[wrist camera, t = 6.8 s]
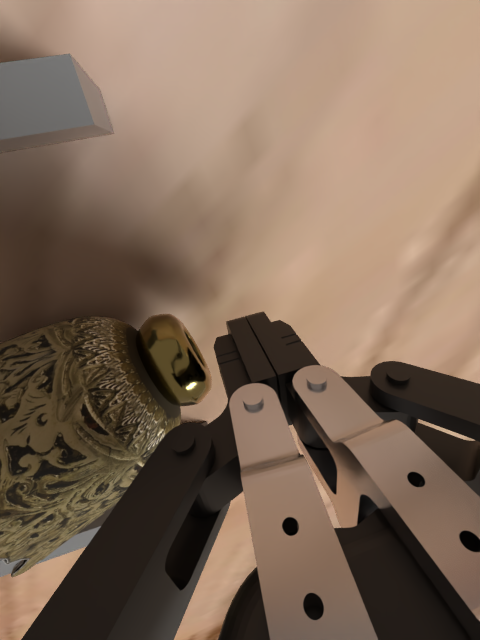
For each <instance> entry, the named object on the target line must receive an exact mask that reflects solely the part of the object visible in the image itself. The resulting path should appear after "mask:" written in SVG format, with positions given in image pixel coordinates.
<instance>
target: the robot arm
mask: <svg viewBox="0 0 480 640" xmlns="http://www.w3.org/2000/svg"><path fill="white" fill-rule="evenodd" d="M226 325H227V329H228V335H224V336H221V337H217V338H216V341H215V344H214V350H215V354H216V358H217V362H218V365H219V369H220V373H221V377H222V380H223V384H224V387H225V390H226V394H227V397H228V403H227V406H226V408H225V410H224V411H223V413H222V414H221V415H220V416H219V417H218V418H216V419H215V420H214V421H212V422H211V423H209V424H208V425H206V426H203V425H201V424H199V423H191V422H190V423H184V424H181V425H178V426H176V427H175V428H173V429H172V430H170V431H169V432H168V433H167V434H166V435H165V436H164V437H163V439H162V440H161V442H160V443H159V444H158V446H157V447H156V449H155V450H154V452H153V453H152V454H151V456H150V457H149V459H148V460H147V462H146V463H145V464H144V466H143V467H142V469H141V470H140V472H139V473H138V474H137V476H136V477H135V479H134V480H133V481H132V483H131V484H130V486H129V487H128V489H127V490H126V491H125V493H124V494H123V496H122V497H121V499H120V500H119V501H118V503H117V504H116V506H115V507H114V509H113V510H112V511H111V513H110V514H109V516H108V517H107V518H106V520H105V521H104V523H103V524H102V526H101V527H100V528H99V530H98V531H97V533H96V534H95V536H94V537H93V538H92V540H91V541H90V543H89V544H88V546H87V547H86V548H85V550H84V551H83V553H82V554H81V555H80V557H79V558H78V560H77V561H76V563H75V564H74V565H73V567H72V568H71V570H70V571H69V573H68V574H67V575H66V577H65V578H64V580H63V581H62V582H61V584H60V585H59V587H58V588H57V590H56V591H55V592H54V594H53V595H52V597H51V598H50V600H49V601H48V602H47V604H46V605H45V607H44V608H43V610H42V611H41V612H40V614H39V615H38V617H37V618H36V619H35V621H34V622H33V624H32V625H31V627H30V628H29V629H28V631H27V632H26V634H25V635H24V637H23V638H22V639H21V640H174V637H175V635H176V633H177V630H178V628H179V626H180V623H181V621H182V618H183V616H184V614H185V611H186V609H187V607H188V604H189V602H190V599H191V597H192V595H193V592H194V590H195V587H196V585H197V583H198V580H199V578H200V576H201V573H202V571H203V568H204V566H205V564H206V561H207V559H208V556H209V554H210V552H211V549H212V547H213V545H214V542H215V540H216V537H217V535H218V533H219V530H220V528H221V525H222V523H223V521H224V518H225V516H226V514H227V511H228V509H229V506H230V501H231V500H233V499H234V498H235V497H236V496H238V495H239V494H240V493H241V492H244V497H245V503H246V508H247V514H248V519H249V525H250V531H251V536H252V542H253V547H254V553H255V558H256V564H257V567H256V568H255V569H254V570H253V571H252V572H251V573H250V574H249V575H248V577H247V578H246V579H245V581H244V582H243V584H242V585H241V586H240V588H239V589H238V591H237V593H236V595H235V597H234V598H233V600H232V602H231V605H230V607H229V609H228V612H227V614H226V617H225V619H224V622H223V625H222V629H221V632H220V635H219V638H218V640H480V384H478V383H474V382H471V381H467V380H464V379H460V378H456V377H453V376H449V375H446V374H442V373H438V372H435V371H431V370H428V369H424V368H420V367H417V366H413V365H410V364H406V363H402V362H396V361H388V362H382V363H379V364H377V365H376V366H375V367H373V369H372V371H371V376H364V377H342V376H339V374H338V373H336V372H335V371H334V370H332V369H331V368H328V367H325V366H321V365H320V364H319V363H318V362H317V360H316V359H315V358H314V356H313V355H312V354H311V352H310V351H309V350H308V348H307V347H306V346H305V344H304V343H303V342H302V341H301V339H300V338H299V337H298V335H296V333H295V331H294V330H293V329H292V327H291V326H290V325H288V324H286V323H284V322H283V321H281V320H278V321H274V322H270V320H269V319H268V317H267V316H266V314H265V313H264V312H259V313H256V314H252V315H248V316H245V317H241V318H238V319H234V320H230V321H227V322H226ZM418 419H421V420H423V421H426V422H429V423H431V424H434V425H437V426H440V427H442V428H445V429H448V430H450V431H453V432H456V433H459V434H461V435H464V436H467V437H469V438H472V439H474V440H476V441H467V440H463V439H460V438H458V437H455V436H452V435H450V434H447V433H444V432H442V431H439V430H436V429H434V428H431V427H428V426H426V425H423V424H420V423H418ZM292 424H293V426H294V428H295V430H296V432H297V438H298V444H299V446H300V448H301V450H302V452H303V453H304V455H305V457H306V459H307V460H308V462H309V464H310V465H311V467H312V469H313V471H314V472H315V474H316V476H317V477H318V479H319V481H320V483H321V484H322V486H323V488H324V489H325V491H326V493H327V495H328V496H329V498H330V500H331V502H332V504H333V507H334V509H335V513H336V516H337V519H338V521H339V524H340V526H341V528H333V525H332V523H331V520H330V517H329V515H328V512H327V510H326V507H325V505H324V502H323V500H322V497H321V495H320V492H319V490H318V487H317V485H316V482H315V480H314V477H313V475H312V472H311V470H310V467H309V465H308V463H307V460H306V459H305V457H304V455H300V453H299V451H298V449H297V446H296V444H295V441H294V438H293V436H292V433H291V431H290V428H289V425H292Z"/></svg>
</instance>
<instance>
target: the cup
mask: <svg viewBox="0 0 480 640" xmlns="http://www.w3.org/2000/svg"><path fill="white" fill-rule="evenodd" d="M211 386H212V379H211V374H210V371H209V368H208V366H207V364H206V362H205V359H204V357H203V356H202V354H201V352H200V350H199V348H198V346H197V344H196V343H195V341H194V339H193V338H192V336H191V335H190V333H189V331H188V330H187V329H186V327H185V326H184V324H183V323H182V322H181V321H180V320H179V319H178V318H176V317H175V316H173V315H171V314H159V315H153V316H151V317H149V318H148V319H147V320H146V321H145V322H144V323H143V325H142V326H141V327H140V329H139V331H137V330H136V329H135V328H133V327H132V326H130V325H128V324H126V323H124V322H122V321H119V320H117V319H113V318H108V317H98V316H89V317H79V318H74V319H70V320H66V321H62V322H58V323H55V324H52V325H49V326H46V327H43V328H40V329H37V330H34V331H32V332H29V333H26V334H24V335H21V336H19V337H16V338H13V339H11V340H8V341H6V342H3V343H1V344H0V560H2V561H3V562H4V563H5V564H6V565H8V564H10V563H13V562H16V561H18V560H20V561H19V562H18V563H17V564H16V565H15V566H14V567H13V570H12V573H11V577H14V576H17V575H20V574H22V573H24V572H25V571H27V570H29V569H30V568H31V567H33V566H34V565H35V564H37V563H38V562H39V561H42V560H43V559H44V558H46V557H47V556H48V555H49V554H51V553H52V552H53V551H54V550H56V549H57V548H58V547H60V546H61V545H62V544H64V543H65V542H66V541H68V540H69V539H70V538H72V537H73V536H74V535H76V534H77V533H78V532H80V531H81V530H82V529H84V528H85V527H86V526H88V525H89V524H90V523H92V522H93V521H94V520H96V519H97V518H98V517H100V516H101V515H102V514H104V513H105V512H106V511H108V510H109V509H110V508H111V507H113V506H114V505H115V504H117V503H118V501H119V500H120V499H121V497H122V496H123V494H124V493H125V491H126V490H127V489H128V487H129V486H130V484H131V483H132V481H133V480H134V479H135V477H136V476H137V474H138V473H139V472H140V470H141V469H142V467H143V466H144V464H145V463H146V462H147V460H148V459H149V457H150V456H151V454H152V453H153V452H154V450H155V449H156V447H157V446H158V444H159V443H160V442H161V440H162V439H163V437H164V436H165V435H166V434H167V433H168V432H169V431H170V430H172V429H173V428H175V427H176V426H178V425H180V420H181V410H180V406H189V405H195V404H198V403H200V402H201V401H202V400H203V399H204V398H205V396H206V395H207V394H208V393H209V391H210V389H211Z"/></svg>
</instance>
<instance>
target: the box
mask: <svg viewBox="0 0 480 640" xmlns="http://www.w3.org/2000/svg"><path fill="white" fill-rule="evenodd" d="M109 134H114V132H113V129H112V126H111V122H110V119H109V116H108V113H107V110H106V107H105V104H104V101H103V98H102V94H101V91H100V89H99V88H98V86H97V85H96V84H95V83H94V82H93V80H92V79H91V78H90V77H89V76H88V75H87V73H86V72H85V71H84V70H83V69H82V67H81V66H80V65H79V64H78V63H77V62H76V60H75V59H74V58H73V57H72V56H71V54H64V55H56V56H49V57H41V58H33V59H26V60H18V61H11V62H3V63H0V153H3V152H9V151H15V150H20V149H26V148H32V147H38V146H44V145H50V144H56V143H62V142H67V141H73V140H79V139H85V138H91V137H97V136H103V135H109ZM201 425H203V426H206V425H208V424H207V422H204V423H201ZM115 506H116V504H115V505H114V506H113V507H111V508H110V509H109V510H108V511H106V512H105V513H104V514H102V515H101V516H100V517H98V518H97V519H96V520H94V521H93V522H92V523H90V524H89V525H88V526H86V527H85V528H84V529H82V530H81V531H80V532H78V533H77V534H76V535H74V536H73V537H72V538H70V539H69V540H68V541H66V542H65V543H64V544H62V545H61V546H60V547H58V548H57V549H56V550H54V551H53V552H52V553H51V554H49V555H48V556H47V557H46V558H44V559H43V560H42V561H39V562H38V563H41V562H44V561H47V560H49V559H52V558H55V557H58V556H61V555H64V554H66V553H69V552H72V551H75V550H78V549H81V548H83V547H86V546H88V544H89V543H90V541H91V540H92V538H93V537H94V536H95V534H96V533H97V531H98V530H99V528H100V527H101V526H102V524H103V523H104V521H105V520H106V518H107V517H108V516H109V514H110V513H111V511H112V510H113V509H114V507H115ZM19 561H20V560H18V561H16V562H13V563H10V564H8V565H6V564H5V563H4V562H3V561H2V560H0V577H1V576H4V575H7V574H10V573H12V570H13V567H14V566H15V565H16V564H17V563H18V562H19ZM38 563H37V564H38Z"/></svg>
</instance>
